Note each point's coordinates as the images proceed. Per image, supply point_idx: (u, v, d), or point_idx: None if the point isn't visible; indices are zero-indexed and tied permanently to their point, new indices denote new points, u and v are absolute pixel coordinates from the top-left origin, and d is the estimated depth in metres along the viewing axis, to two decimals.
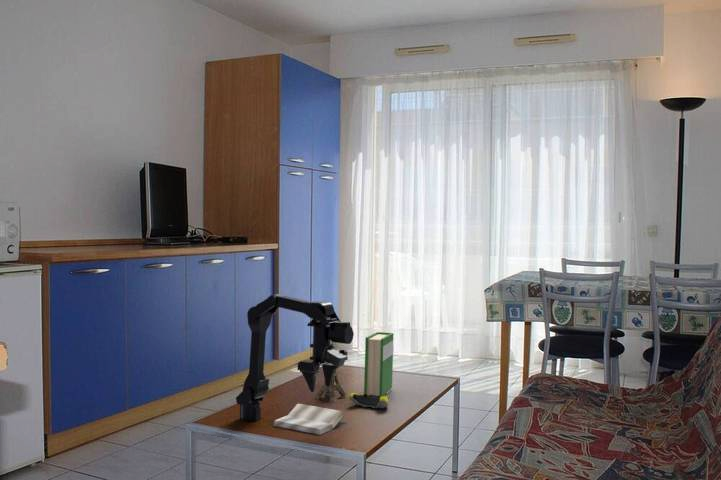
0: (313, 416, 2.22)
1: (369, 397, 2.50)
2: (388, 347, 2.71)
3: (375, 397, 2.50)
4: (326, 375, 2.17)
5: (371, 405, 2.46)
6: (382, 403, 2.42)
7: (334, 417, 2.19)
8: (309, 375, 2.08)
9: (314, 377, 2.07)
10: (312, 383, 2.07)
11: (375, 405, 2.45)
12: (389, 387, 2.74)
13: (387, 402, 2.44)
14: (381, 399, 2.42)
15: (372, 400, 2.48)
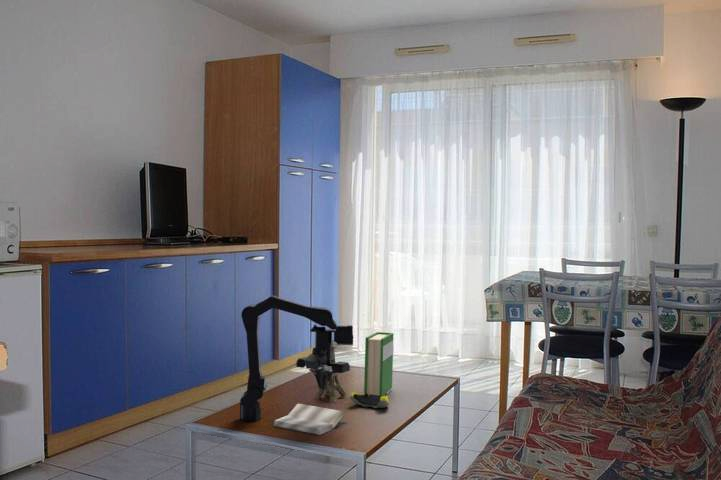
0: (313, 416, 2.22)
1: (370, 397, 2.50)
2: (388, 347, 2.71)
3: (376, 397, 2.50)
4: None
5: (372, 405, 2.46)
6: (382, 403, 2.42)
7: (334, 417, 2.19)
8: None
9: (316, 375, 2.27)
10: None
11: (376, 405, 2.45)
12: (389, 387, 2.74)
13: (387, 402, 2.44)
14: (381, 399, 2.42)
15: (372, 400, 2.48)
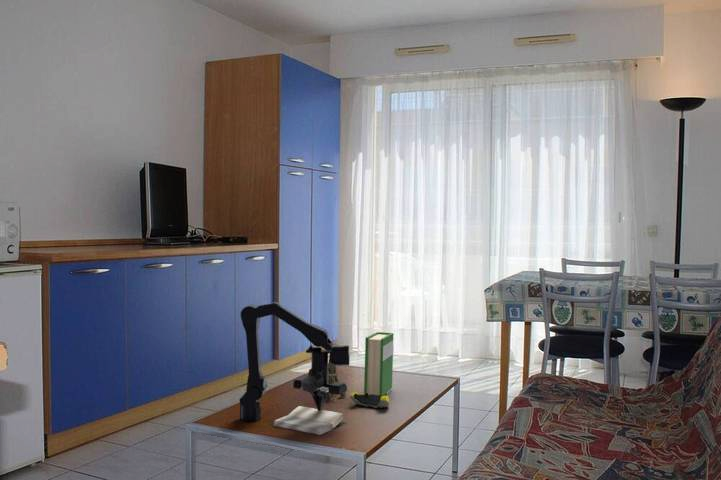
0: (313, 416, 2.22)
1: (370, 397, 2.51)
2: (388, 347, 2.71)
3: (376, 397, 2.51)
4: None
5: (372, 405, 2.46)
6: (383, 403, 2.43)
7: (334, 418, 2.19)
8: None
9: (313, 396, 2.25)
10: None
11: (376, 405, 2.46)
12: (389, 387, 2.74)
13: (388, 402, 2.45)
14: (382, 399, 2.43)
15: (373, 400, 2.48)
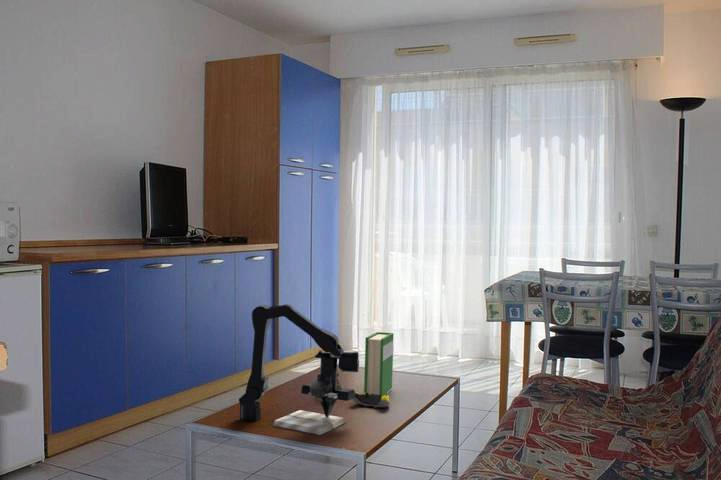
0: (314, 417, 2.22)
1: (371, 396, 2.51)
2: (388, 347, 2.71)
3: (377, 396, 2.51)
4: None
5: (373, 404, 2.47)
6: (383, 402, 2.43)
7: (335, 420, 2.20)
8: None
9: (322, 402, 2.23)
10: None
11: (377, 404, 2.46)
12: (389, 387, 2.74)
13: (388, 401, 2.45)
14: (382, 398, 2.43)
15: (373, 400, 2.49)
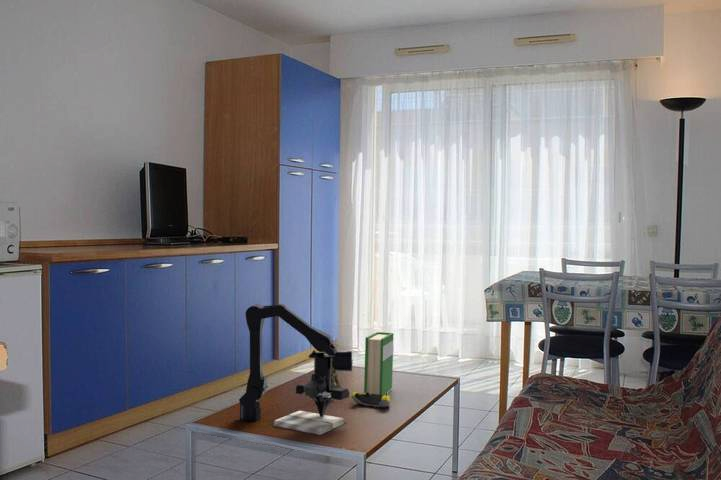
0: (314, 417, 2.23)
1: (371, 396, 2.52)
2: (388, 347, 2.71)
3: (377, 396, 2.51)
4: None
5: (373, 404, 2.47)
6: (384, 402, 2.44)
7: (335, 420, 2.20)
8: None
9: (316, 402, 2.24)
10: None
11: (377, 404, 2.46)
12: (389, 387, 2.74)
13: (389, 401, 2.46)
14: (383, 398, 2.44)
15: (374, 399, 2.49)
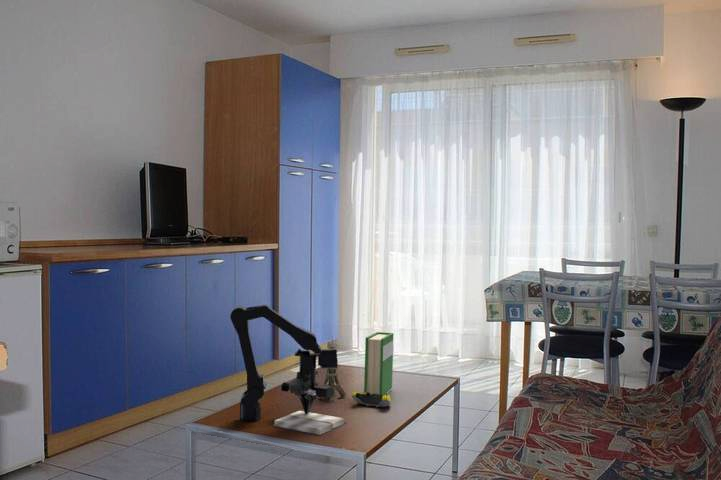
0: (314, 417, 2.23)
1: (372, 396, 2.52)
2: (388, 347, 2.71)
3: (378, 396, 2.52)
4: None
5: (374, 404, 2.48)
6: (384, 402, 2.44)
7: (335, 420, 2.20)
8: None
9: (301, 399, 2.27)
10: None
11: (378, 404, 2.47)
12: (389, 387, 2.74)
13: (389, 401, 2.46)
14: (383, 398, 2.44)
15: (374, 399, 2.50)
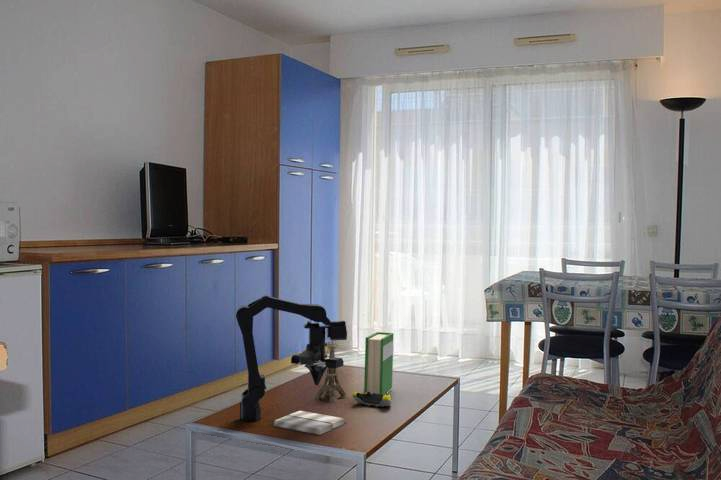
0: (314, 417, 2.23)
1: (372, 396, 2.53)
2: (388, 347, 2.71)
3: (378, 396, 2.52)
4: None
5: (374, 403, 2.48)
6: (385, 401, 2.45)
7: (335, 420, 2.20)
8: None
9: (311, 371, 2.30)
10: None
11: (378, 403, 2.47)
12: (389, 387, 2.74)
13: (390, 401, 2.47)
14: (384, 398, 2.44)
15: (375, 399, 2.50)
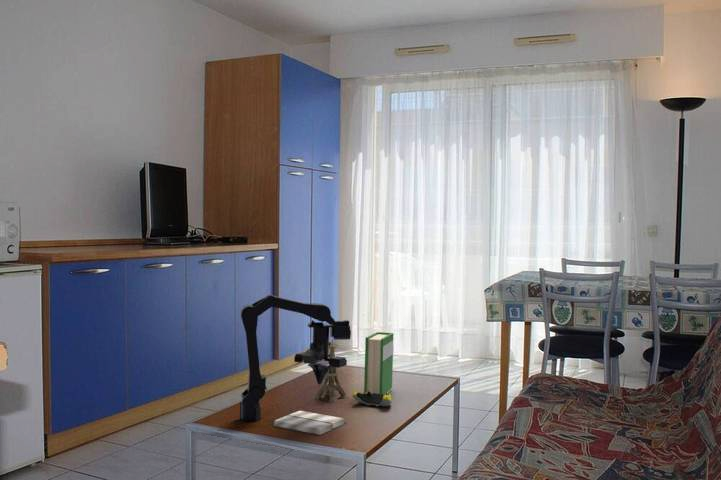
0: (314, 417, 2.23)
1: (373, 395, 2.53)
2: (388, 347, 2.71)
3: (379, 395, 2.53)
4: None
5: (374, 403, 2.48)
6: (385, 401, 2.45)
7: (335, 420, 2.20)
8: None
9: (314, 370, 2.31)
10: None
11: (378, 403, 2.48)
12: (389, 387, 2.74)
13: (390, 400, 2.47)
14: (384, 397, 2.45)
15: (375, 399, 2.50)
